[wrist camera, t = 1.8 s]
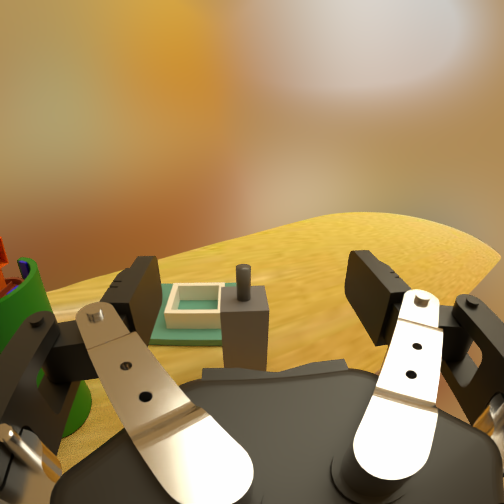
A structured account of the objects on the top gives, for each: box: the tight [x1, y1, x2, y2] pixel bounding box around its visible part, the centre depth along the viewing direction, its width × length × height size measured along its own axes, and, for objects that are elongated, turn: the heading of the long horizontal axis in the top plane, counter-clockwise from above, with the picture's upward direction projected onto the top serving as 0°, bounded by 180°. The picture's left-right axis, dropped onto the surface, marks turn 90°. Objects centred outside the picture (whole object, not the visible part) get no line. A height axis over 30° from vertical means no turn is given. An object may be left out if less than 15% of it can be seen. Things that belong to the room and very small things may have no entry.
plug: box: [220, 264, 269, 371], centre depth 27 cm, size 4×5×14 cm
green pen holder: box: [0, 237, 92, 438], centre depth 19 cm, size 10×9×20 cm
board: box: [148, 283, 236, 346], centre depth 40 cm, size 20×14×4 cm
